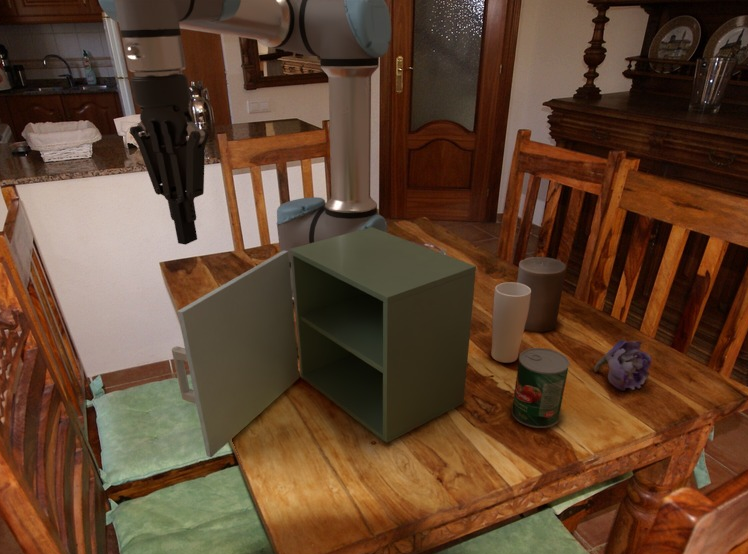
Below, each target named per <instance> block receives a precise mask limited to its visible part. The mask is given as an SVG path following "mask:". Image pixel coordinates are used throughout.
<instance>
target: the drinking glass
mask: <svg viewBox="0 0 748 554" xmlns="http://www.w3.org/2000/svg"><path fill="white" fill-rule="evenodd" d="M492 299H493V300H492V315H491V316H492V320H491V321H492V325H491V326H492V327H491V351H490V356H491V357H492V359H494V360H495V361H496V362H499V363H502V364H504V363H505V364H509V363H514V362H516V361H517V360H518V359H519V356H520V349H521V345H522V340H523V336H524V332H525V330H524V328H525V324H526V320H527V316H528V312H529V306H530V299H531V289H530V288H529V287H528V286H526V285H524V284H521V283H517V282H515V281H507V282H502V283H498V284H497V285H496V286H495V287H494V293H493V298H492Z"/></svg>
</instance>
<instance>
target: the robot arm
mask: <svg viewBox="0 0 748 554" xmlns="http://www.w3.org/2000/svg"><path fill="white" fill-rule="evenodd" d="M98 3H99V6H100V7H101V9H102V11H103V12H104V13H105V15H106V16H107V17H108V18H110V19H111V20H112V21H114V22H115V23H118V25H119V29H120V30H119V31H120V36H121V39H122V45H123V49H124V50H123V51H124V54H125V60H126V65H127V70H128V71H129V72H131V73H133V76H131V77H130V79H129V81H130V87H131V92H132V97H133V102H134V104H135V105H136V106H137V107H139V108H140V115H139V120H140V121H139V123H138V124H137V125H135V126H130V128H129V132H130V134H131V135H132V138H133V139H134V141H135V142H136V144H137V146H138V149H139V152H140V154H141V158H142V160H143V163H144V165H145V168H146V171H147V174H148V176H149V180H150V182H151V185H152V188H153V190H154V192H155V194H156V195H157V196H159V195H161V196H163V197H164V198H165V200H167V203H168V204H167V205H168V209H169V214H170V218H171V220H172V221H173V223H174V229H175V234H176V239H177V244H179V245H189V244H191V243H193V242H195V241H197V240H198V234H197V228H196V222H195V221H197V213H196V208H195V207H196V206H195V199H196V198H198V197H201V196H203V195H204V193H205V191H204V190H205V163H206V162H205V161H206V160H205V158H206V157H205V156H206V144H207V142H208V139H209V131H208V129H207V128H200V127H198V126H197V125H196V123H194V119H193V116H192V114H191V112H190V110H189V104H190V102H191V99H192V98H191V92H190V91H191V90H190V85H189V79H188V76H186V74H185V73H183V70H185V69H186V68H187V65H186V60H185V59H186V58H185V54H184V47H183V40H182V34H181V33H182V32H181V29H182V30H189V31H195V32H202V33H211V34H216V35H223V36H229V37H235V38H236V37H237V38H244V39H250V40H256V41H257V42H258V44H260V45H262V46H264V47H265V48H266V47H267V48H272V49H278V50H282V51H286V52H291V53H293V54H298V55H304V56H309V57H319V60H320V64H319V65H320V68H321V70H322V71H323V72H324V73H325V74H326V75H327V77H328V79H327V80H328V109H329V111H328V113H329V114H328V115H329V116H328V117H329V150H330V151H329V152H330V153H329V155H330V183H331V184H330V192H331V197H330V198H329V199H328V200H327V201H325V199H324V198H323V197H317V196H315V197H314V196H313V197H303V198H302V197H301V198H297V199H292V200H289V201H286V202H284V203H281V204H280V205H279V206H278V208H277V209H276V223H275V224H276V228H277V238H278V245H279V253H280V252H282V251H283V250H284V251H288V255H289V267H290V278H291V290H292V302H293V304H294V293H293V281H292V270H291V258H290V249H291V248H295V247H299V246H303V245H306V244H310V243H314V242H318V241H321V240H325V239H329V238H333V237H336V236H340V235H344V234H348V233H351V232H355V231H359V230H363V229H366V228H370V227H373V228H376V229H378V230H381V231H384V232H386V233H388V225H387V221H386V219H385V217H384V216H382V215H381V214H378V203H377V201H376V200H374V198H373V197H371V164H372V163H371V160H372V159H371V156H372V155H371V151H372V150H371V149H372V148H371V143H372V142H371V141H372V139H371V137H372V136H371V135H372V133H371V132H372V76H373V74H374V73H375V72H376V71H377V69H378V68H379V67H380V58H382V57H383V56H384V55H386V53H387V52H388V50H389V48H390V45H389V44H390V43H391V40H392V21H391V15H390V11H389V7H388V4H387V2H386V1H385V0H98Z"/></svg>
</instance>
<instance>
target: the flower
mask: <svg viewBox="0 0 748 554" xmlns="http://www.w3.org/2000/svg"><path fill="white" fill-rule="evenodd" d="M643 343H644V341H643V340H634V341H632V340H631V341H626V340H624V339H621V340H619V341H617V343H616V344H615V345H613V346H612V347H611V348H610V349H609V350H608V351H607V352H606V353H605V354H604V355H603V356H602V357H601V358H600V360H598V362H596V364H595V366H594V367H593V371H594V373H597V372H599V369H601V367H602V366H604V365H608V368H609V371H608V373H607V380H608V382H609V383H610V384H611V385H612V386H613V387H614V388H615V389H617V390H618V391H626V389H630V390H632V391H633V390H636V389H635V388H637V389H641V388H642V386H641V385H644V384H645V383H646V380H649V378H650V373H649V369H650V367H651V365H652V358H651V357H652V356H651V354H649V353H648V352H645V351H642V350H640V348H642V346H641V344H643Z"/></svg>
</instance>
